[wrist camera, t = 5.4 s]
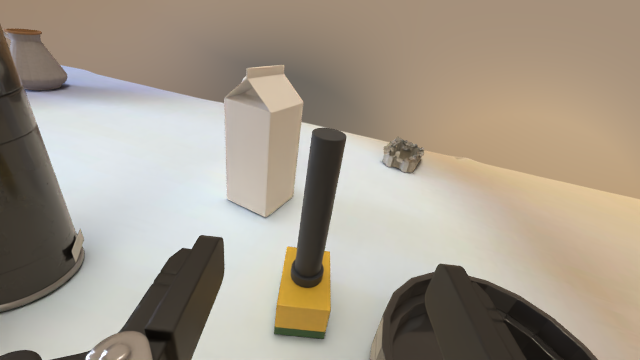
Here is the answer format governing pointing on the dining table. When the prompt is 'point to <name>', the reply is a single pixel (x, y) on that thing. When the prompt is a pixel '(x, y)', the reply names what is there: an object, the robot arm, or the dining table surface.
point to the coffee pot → (34, 60)
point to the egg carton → (402, 155)
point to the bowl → (517, 313)
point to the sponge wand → (311, 244)
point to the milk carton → (262, 139)
